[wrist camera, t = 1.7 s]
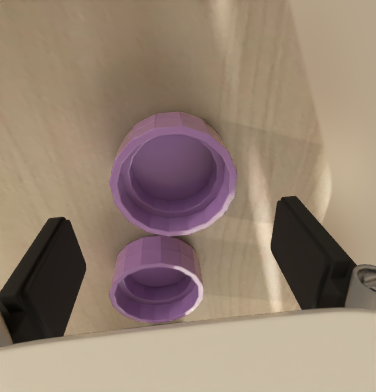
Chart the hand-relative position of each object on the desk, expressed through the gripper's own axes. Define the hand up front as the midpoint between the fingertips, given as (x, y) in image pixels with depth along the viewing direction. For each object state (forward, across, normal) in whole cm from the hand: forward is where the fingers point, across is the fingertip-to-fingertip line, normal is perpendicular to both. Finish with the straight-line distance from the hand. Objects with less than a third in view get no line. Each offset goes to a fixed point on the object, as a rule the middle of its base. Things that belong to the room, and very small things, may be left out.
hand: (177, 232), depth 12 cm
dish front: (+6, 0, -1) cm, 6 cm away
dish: (+6, +2, +8) cm, 11 cm away
